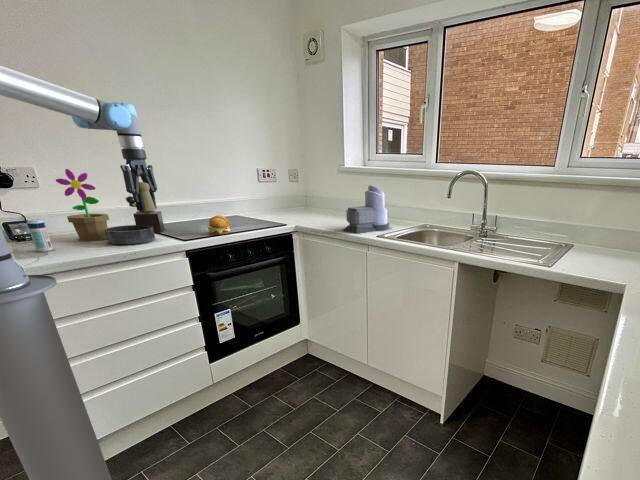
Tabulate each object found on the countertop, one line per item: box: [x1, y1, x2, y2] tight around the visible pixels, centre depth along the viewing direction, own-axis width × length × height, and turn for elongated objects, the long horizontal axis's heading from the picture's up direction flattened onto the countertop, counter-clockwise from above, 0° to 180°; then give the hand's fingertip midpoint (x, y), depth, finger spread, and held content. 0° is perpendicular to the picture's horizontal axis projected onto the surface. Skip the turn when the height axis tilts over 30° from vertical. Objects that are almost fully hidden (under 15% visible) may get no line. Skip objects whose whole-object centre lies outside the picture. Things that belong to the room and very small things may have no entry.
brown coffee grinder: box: [125, 195, 166, 234], centre depth 174 cm, size 16×11×18 cm
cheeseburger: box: [207, 214, 231, 236], centre depth 178 cm, size 10×11×10 cm
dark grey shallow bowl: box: [104, 224, 156, 246], centre depth 155 cm, size 17×17×6 cm
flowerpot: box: [55, 168, 110, 242], centre depth 154 cm, size 14×14×30 cm
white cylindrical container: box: [26, 218, 54, 253], centre depth 135 cm, size 5×5×12 cm
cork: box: [139, 181, 157, 211], centre depth 142 cm, size 6×6×11 cm
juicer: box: [342, 184, 392, 235], centre depth 200 cm, size 30×16×24 cm, turn 139°
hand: (147, 209), depth 144 cm, fingers closed on cork, 6 cm apart
